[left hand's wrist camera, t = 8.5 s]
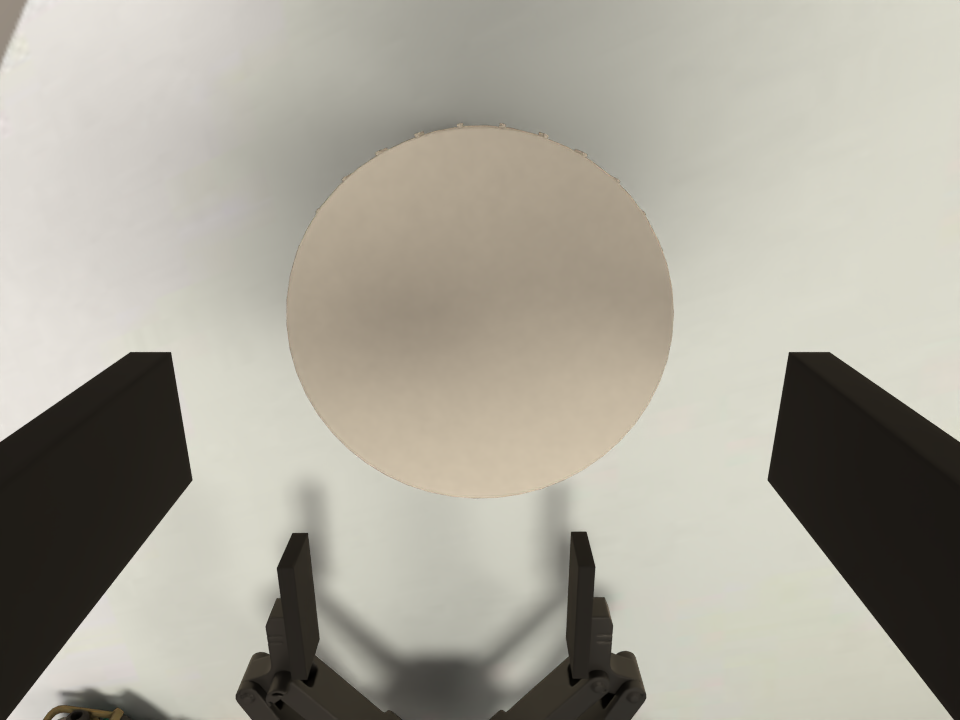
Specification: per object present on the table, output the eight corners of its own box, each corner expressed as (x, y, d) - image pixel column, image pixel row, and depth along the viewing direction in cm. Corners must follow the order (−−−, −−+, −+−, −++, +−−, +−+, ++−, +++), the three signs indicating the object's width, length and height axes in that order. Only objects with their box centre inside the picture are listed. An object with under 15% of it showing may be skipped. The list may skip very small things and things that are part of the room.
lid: (230, 268, 20) (200, 288, 18) (527, 38, 18) (533, 29, 16) (443, 517, 23) (439, 559, 21) (719, 346, 21) (747, 372, 18)
